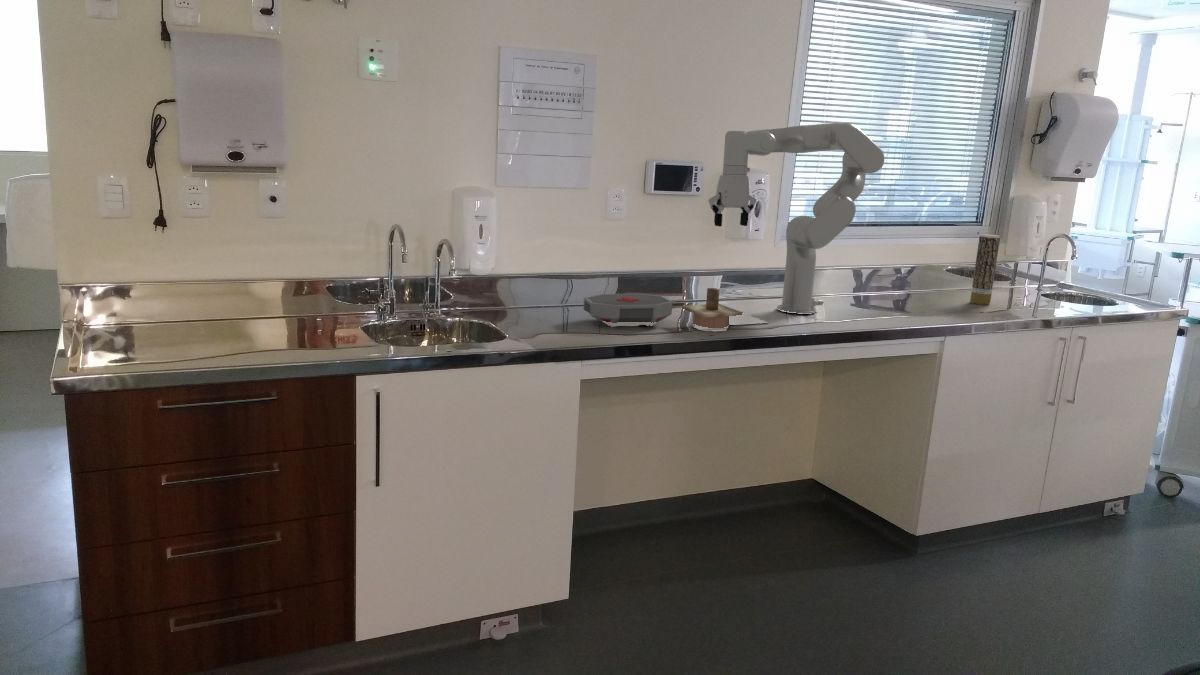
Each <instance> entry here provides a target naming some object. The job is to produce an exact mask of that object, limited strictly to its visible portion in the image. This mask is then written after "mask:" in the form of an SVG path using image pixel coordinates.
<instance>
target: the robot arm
mask: <svg viewBox="0 0 1200 675" xmlns="http://www.w3.org/2000/svg"><path fill="white" fill-rule="evenodd" d="M723 148H724V149H723V163H722V174H721V175H719V178H718V182H717V187H716V190H715V191H716V192H715V195H713V196H712V197H710V198H708V204H709V205H710V209H711V210H712V211H713V212H712V213H714V218H713V219H714V221H713V223H714V226H715V227H722V225H723V213H722V212H723V211H724V209H725V208H727V209H728V208H730V209H731V208H733V209H734V208H735V209H736V208H739V209H741V212H740V219H739V220H740V222H739V225H740V226H744V227H747V226H748V223H749V214H750V213H751V211H752V210H753V209H754V208H755V205H756V202H757V198H755V197H753V196H752V195H750V182H749V180H750V179H749V176H748V175H747V174H748V173H750V171H751V168H750V167H748V165H749V164H748V163H749V156H751V155H752V156H761V157H765V156H768V155H770V154H772V153H790V154H806V153H815V152H827V151H828V152H829V151H843V155H842V159H841V160H842V161H841V163H842V164H841V165H842V171H841V175H840V177H839V179H838V180H837V181H836V182H835V183H834V184H833V185H832V186H831V187H830V188H828V189H827V190H826V191H825V192H824V193H823V194H822V195H821V196H820V197H819V198H818V199H817V200H816V201H815V202H814V204H813V206H812V213H813V215H814V217H812V216H808V215H798V216H795V217H793V218H792V219H791V220H790V221H789V222H788V224H787V227H786V231H785V233H786V234H785V235H786V236H785V238H786V240H785V241H786V256H785V257H786V258H785V268H784V269H785V271H784V277H783V278H784V279H783V289H782V291H783V292H782V299H781V300H782V301H781V304H779V305H777V306H776V309H777V308H778V309H780V310H784V311H789V312H796V313H813V312H815V313H816V308H815V307H816V306H823V304H824V300H823V299H815V298H813V293H814V282H815V272H816V263H817V252H816V250H818V249H819V250H820V249H822V248H824V247H826V246H827V245H829V244H830V243H831V242H832V241H833V240H835V238H837V236H839V235H840V233H842V232H843V231H844V230H845V229H846V228H847V227H848V226H849V225H850V224H851V223H852V222H853V220H854V218H855V216H856V212H857V211H856V210H857V209H856V203H855V201H856V200H857V199H858V198H859V196H861V194H862V192H863V191H864V189H865V184H866V175H867V174H875V173H878V172H879V171H880V170H881V169H882V168H883V166H884V164H885V154H884V151H883V150H882V148H881V147H880V146H879V145H878V144H876V143H875V142H874V141H873V140H872V139H871V138H870V137H869V136H868V135H867V134H866V133H865V132H864V131H862V130H861V128H859V127H857V126H856V124H853V123H851V122H830V123H829V122H827V123H817V124H805V125H795V126H787V127H782V128H781V127H780V128H771V129H770V128H769V129H756V130H749V131H745V130H728V131H726V132H725V135H724V147H723Z"/></svg>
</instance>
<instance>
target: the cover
mask: <svg viewBox="0 0 1200 675" xmlns="http://www.w3.org/2000/svg"><path fill="white" fill-rule="evenodd" d="M719 301H720V289H719V288H715V287H709V288H707V289H706V302H705V304H689V305H681V308H682V309H683V310H685V311H688V312H690V313H692V314H693V313H695V314H697V315H700V316H702V317H719V316H736V315H742V313H743V312H744V311H740V310H737V309H734V308H731V307H729V306H726V305H725V304H721V303H720V302H719Z"/></svg>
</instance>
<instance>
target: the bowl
mask: <svg viewBox="0 0 1200 675" xmlns="http://www.w3.org/2000/svg"><path fill="white" fill-rule="evenodd" d="M692 316H693V317H692V325H693V324H696V325H698V326H702V327H708V328H724V327H727V326H728V325H729V316H719V317H702V316H700V315H697V314H695V313H692Z"/></svg>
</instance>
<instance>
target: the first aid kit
mask: <svg viewBox="0 0 1200 675" xmlns="http://www.w3.org/2000/svg"><path fill="white" fill-rule="evenodd" d="M582 307H583V310H584V311H585V312H586V313H588V314H589V315H590V316H591V317H592V318H594V319H596V320H597V321H599V322H601V321H606V322H612V323H617V322H651V323H652V322H653V323H654V322H658V323H659V321H660V322H661V321H663V320H664V319H666V318H668V317H670V316H671V315H672V314H673V301H672V300H671V299H669V298H666V297H665V296H663V295H655V294H644V293H599V294H593V295H587V296H583V306H582Z"/></svg>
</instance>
